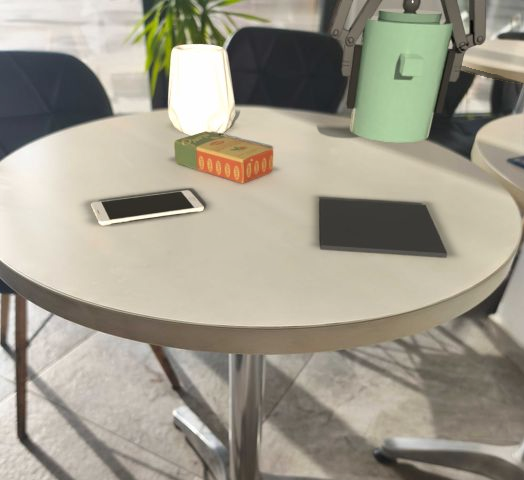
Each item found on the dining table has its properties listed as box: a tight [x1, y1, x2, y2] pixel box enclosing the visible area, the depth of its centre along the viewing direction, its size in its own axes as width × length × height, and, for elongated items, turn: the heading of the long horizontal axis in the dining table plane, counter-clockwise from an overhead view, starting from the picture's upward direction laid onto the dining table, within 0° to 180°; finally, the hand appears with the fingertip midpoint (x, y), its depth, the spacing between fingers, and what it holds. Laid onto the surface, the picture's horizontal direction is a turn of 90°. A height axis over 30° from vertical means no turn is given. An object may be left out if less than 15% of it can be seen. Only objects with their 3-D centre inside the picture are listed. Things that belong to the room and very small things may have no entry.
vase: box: [167, 43, 236, 136], centre depth 102 cm, size 14×14×15 cm
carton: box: [173, 131, 274, 184], centre depth 86 cm, size 8×16×4 cm, turn 51°
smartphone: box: [90, 189, 205, 226], centre depth 72 cm, size 8×1×15 cm
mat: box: [319, 198, 448, 259], centre depth 69 cm, size 16×16×1 cm
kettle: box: [349, 0, 454, 144], centre depth 59 cm, size 17×10×15 cm, turn 175°
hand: (392, 108), depth 62 cm, fingers closed on kettle, 10 cm apart
